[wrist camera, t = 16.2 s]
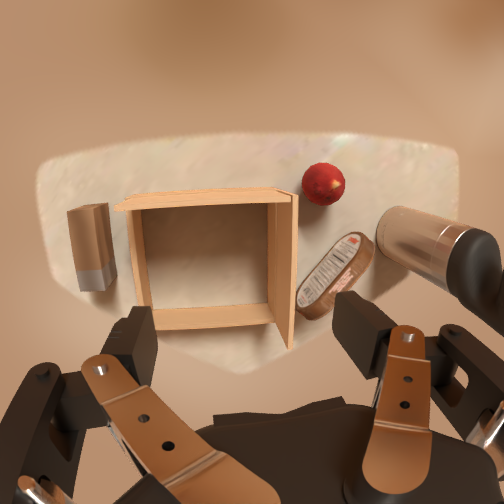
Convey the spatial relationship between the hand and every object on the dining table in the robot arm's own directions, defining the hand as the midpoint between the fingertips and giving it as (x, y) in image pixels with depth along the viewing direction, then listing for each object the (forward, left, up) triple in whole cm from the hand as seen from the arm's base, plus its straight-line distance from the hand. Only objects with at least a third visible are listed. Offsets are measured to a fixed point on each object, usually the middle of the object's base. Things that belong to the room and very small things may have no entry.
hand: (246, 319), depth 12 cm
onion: (-14, -4, -30) cm, 34 cm away
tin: (-16, +9, -30) cm, 36 cm away
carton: (+2, +6, -30) cm, 31 cm away
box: (+18, +3, -30) cm, 35 cm away
